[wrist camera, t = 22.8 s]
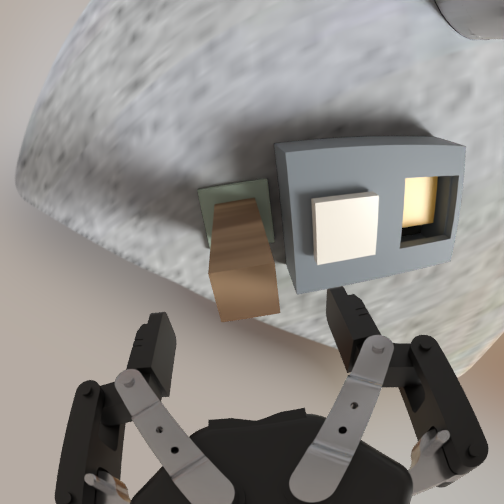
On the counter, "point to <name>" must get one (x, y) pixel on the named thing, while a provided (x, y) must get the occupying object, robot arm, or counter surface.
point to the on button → (344, 226)
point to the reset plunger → (419, 201)
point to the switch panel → (389, 210)
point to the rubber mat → (233, 193)
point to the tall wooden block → (241, 263)
